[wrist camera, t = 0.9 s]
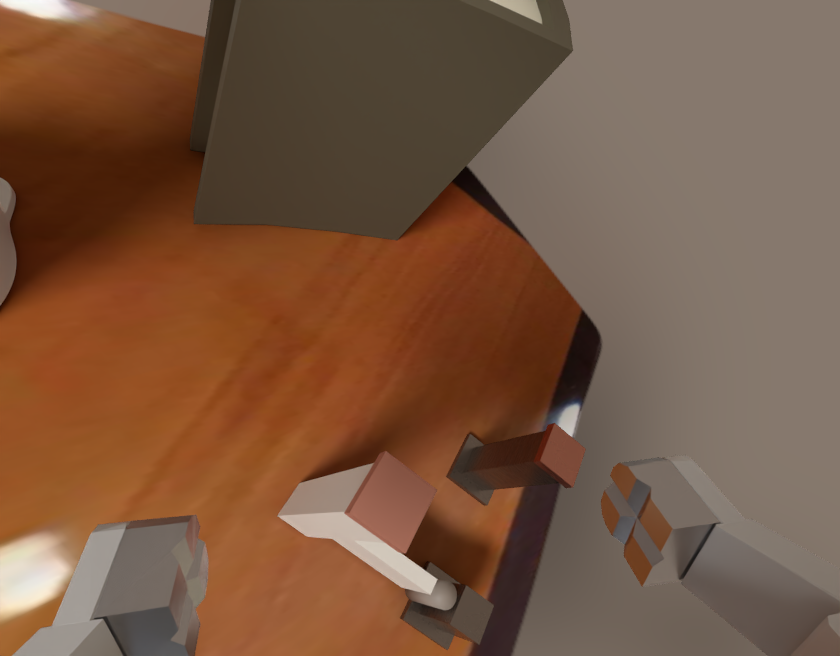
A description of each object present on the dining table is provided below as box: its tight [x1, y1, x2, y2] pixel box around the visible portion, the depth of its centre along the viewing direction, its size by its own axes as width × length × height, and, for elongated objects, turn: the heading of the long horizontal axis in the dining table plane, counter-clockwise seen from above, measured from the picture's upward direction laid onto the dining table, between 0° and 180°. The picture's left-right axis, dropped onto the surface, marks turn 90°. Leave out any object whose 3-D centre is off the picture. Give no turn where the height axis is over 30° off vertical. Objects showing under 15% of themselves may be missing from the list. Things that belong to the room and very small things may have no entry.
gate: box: [277, 451, 457, 610], centre depth 34 cm, size 15×4×18 cm, turn 59°
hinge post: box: [401, 562, 494, 650], centre depth 41 cm, size 5×5×6 cm
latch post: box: [446, 423, 586, 506], centre depth 44 cm, size 5×5×13 cm
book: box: [190, 0, 573, 240], centre depth 40 cm, size 22×9×28 cm, turn 101°
